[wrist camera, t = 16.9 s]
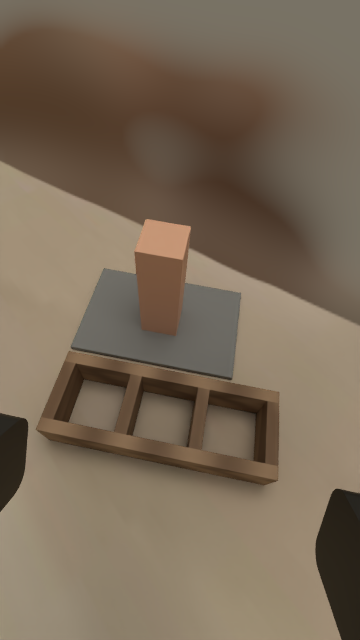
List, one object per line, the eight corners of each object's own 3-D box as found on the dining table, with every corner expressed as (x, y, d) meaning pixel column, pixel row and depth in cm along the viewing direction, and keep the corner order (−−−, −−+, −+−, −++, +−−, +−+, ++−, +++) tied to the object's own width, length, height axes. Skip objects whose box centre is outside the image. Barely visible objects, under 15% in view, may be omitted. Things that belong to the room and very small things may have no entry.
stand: (266, 405, 37) (279, 392, 33) (264, 485, 32) (278, 480, 28) (77, 367, 38) (68, 350, 34) (49, 439, 33) (35, 429, 30)
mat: (240, 295, 45) (240, 293, 45) (231, 379, 38) (232, 377, 38) (104, 271, 46) (103, 268, 46) (71, 348, 39) (70, 346, 39)
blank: (182, 307, 43) (191, 226, 31) (176, 336, 40) (182, 259, 29) (149, 301, 43) (146, 219, 31) (141, 329, 41) (134, 251, 29)
